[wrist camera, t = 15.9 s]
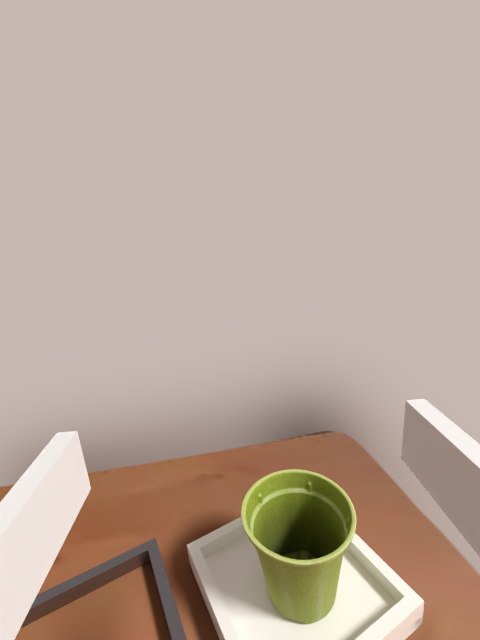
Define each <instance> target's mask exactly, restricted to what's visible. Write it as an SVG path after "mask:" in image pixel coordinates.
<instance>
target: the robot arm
mask: <svg viewBox="0 0 480 640" xmlns="http://www.w3.org/2000/svg"><path fill="white" fill-rule="evenodd" d="M401 458H402V460H403V461H404V462H405V463H406V465H407V466H408V467H409V468H410V470H411V471H412V472H413V473H414V475H415V476H416V477H417V478H418V480H419V481H420V482H421V483H422V485H423V486H424V487H425V488H426V490H427V491H428V492H429V493H430V495H431V496H432V497H433V499H434V500H435V501H436V502H437V504H438V505H439V506H440V507H441V509H442V510H443V511H444V512H445V514H446V515H447V516H448V517H449V519H450V520H451V521H452V522H453V524H454V525H455V526H456V527H457V529H458V530H459V531H460V533H461V534H462V535H463V536H464V538H465V539H466V540H467V541H468V543H469V544H470V545H471V546H472V548H473V549H474V550H475V552H476V553H477V554H478V555H479V556H480V445H479V444H478V443H477V442H476V441H475V440H474V439H472V438H471V437H470V436H469V435H467V434H466V433H465V432H464V431H463V430H461V429H460V428H459V427H458V426H457V425H455V424H454V423H453V422H452V421H450V420H449V419H448V418H447V417H446V416H445V415H443V414H442V413H441V412H440V411H438V410H437V409H436V408H435V407H434V406H432V405H431V404H430V403H429V402H428V401H426V400H425V399H417V400H407V401H406V406H405V418H404V430H403V443H402V456H401ZM90 489H91V487H90V483H89V478H88V474H87V470H86V466H85V462H84V457H83V454H82V449H81V445H80V441H79V436H78V432H77V431H71V432H60V433H57V434H56V435H55V436H54V437H53V439H52V440H51V441H50V442H49V444H48V445H47V446H46V447H45V448H44V450H43V451H42V452H41V453H40V455H39V456H38V457H37V458H36V460H35V461H34V462H33V463H32V464H31V466H30V467H29V468H28V469H27V470H26V472H25V473H24V474H23V475H22V477H21V478H20V479H19V480H18V482H17V483H16V484H15V485H14V486H13V488H12V489H11V490H10V491H9V493H8V494H7V495H6V496H5V497H4V499H3V500H2V501H1V502H0V640H14V639H15V637H16V635H17V633H18V631H19V629H20V628H21V626H22V624H23V622H24V620H25V618H26V616H27V614H28V612H29V610H30V608H31V606H32V604H33V602H34V600H35V598H36V596H37V594H38V592H39V590H40V588H41V586H42V584H43V582H44V580H45V578H46V576H47V574H48V572H49V570H50V568H51V566H52V564H53V562H54V560H55V558H56V557H57V555H58V553H59V551H60V549H61V547H62V545H63V543H64V541H65V539H66V537H67V535H68V533H69V531H70V529H71V527H72V525H73V523H74V521H75V519H76V517H77V515H78V513H79V511H80V509H81V507H82V505H83V503H84V501H85V499H86V497H87V495H88V493H89V491H90Z"/></svg>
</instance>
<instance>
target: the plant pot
mask: <svg viewBox="0 0 480 640" xmlns="http://www.w3.org/2000/svg"><path fill="white" fill-rule="evenodd" d="M241 519H242V524H243V528H244V531H245V533H246V535H247V537H248V538H249V540H250V541H251V542H252V544H253V545H254V547H255V549H256V550H257V553H258V556H259V560H260V563H261V567H262V571H263V574H264V578H265V582H266V586H267V590H268V593H269V597H270V599H271V601H272V603H273V605H274V606H275V608H276V609H277V610H278V611H279V612H280V613H281V614H282V615H283V616H284V617H286V618H288V619H293V620H297V621H300V622H303V623H305V624H310V623H314V622H317V621H319V620H321V619H323V618H324V617H325V616H327V615H328V613H329V612H330V611H331V609H332V607H333V605H334V602H335V598H336V593H337V587H338V581H339V575H340V570H341V564H342V559H343V554H344V552H345V550H346V549H347V548H348V546H349V545H350V543H351V541H352V539H353V537H354V534H355V529H356V513H355V509H354V507H353V504H352V502H351V500H350V498H349V497H348V495H347V494H346V493H345V492H344V490H343V489H342V488H341V487H339V486H338V485H337V484H336V483H335V482H333V481H332V480H330V479H328V478H326V477H324V476H323V475H320V474H318V473H314V472H310V471H306V470H296V469H293V470H283V471H278V472H274V473H272V474H269V475H267V476H265V477H263V478H261V479H260V480H259V481H257V482H256V483H255V484H254V485H253V486H252V487H251V488H250V489H249V491H248V492H247V494H246V496H245V498H244V500H243V503H242V508H241Z"/></svg>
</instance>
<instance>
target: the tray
mask: <svg viewBox="0 0 480 640" xmlns="http://www.w3.org/2000/svg"><path fill="white" fill-rule="evenodd" d="M187 550H188V556H189V562H190V566H191V568H192V571H193V573H194V576H195V579H196V581H197V584H198V586H199V589H200V591H201V594H202V597H203V599H204V602H205V604H206V607H207V609H208V612H209V614H210V617H211V620H212V622H213V625H214V627H215V630H216V632H217V635H218V637H219V640H405V639H406V638H407V637H408V636H409V635H411V634H412V633H413V632H414V631H415V630H416V629H417V628H418V627H419V626H420V625H421V624H422V619H423V608H424V601H423V600H422V599H421V598H420V597H419V596H418V595H417V594H416V593H415V592H414V591H413V590H412V589H411V588H410V587H409V586H408V585H407V584H406V583H405V582H404V581H403V580H402V579H401V578H400V577H399V576H398V575H397V574H396V573H395V572H394V571H393V570H392V569H391V568H390V567H389V566H388V565H387V564H386V563H385V562H384V561H383V560H382V559H381V558H380V557H379V556H378V555H377V554H376V553H375V552H374V551H373V550H372V549H371V548H370V547H369V546H368V545H367V544H366V543H365V542H364V541H363V540H362V539H361V538H360V537H358V536H357V535H356V534H354V537H353V539H352V541H351V543H350V545H349V546H348V548H347V549H346V550H345V552H344V554H343V559H342V564H341V570H340V575H339V581H338V587H337V593H336V598H335V602H334V605H333V607H332V609H331V611H330V612H329V613H328V615H327V616H325V617H324V618H323V619H321V620H319V621H317V622H314V623H310V624H305V623H303V622H300V621H297V620H293V619H288V618H286V617H284V616H283V615H282V614H281V613H280V612H279V611H278V610H277V609H276V608H275V606H274V605H273V603H272V601H271V599H270V597H269V593H268V590H267V586H266V582H265V578H264V574H263V571H262V567H261V563H260V560H259V556H258V553H257V550H256V549H255V547H254V545H253V544H252V542H251V541H250V540H249V538H248V537H247V535H246V533H245V531H244V528H243V524H242V519H241V517H240V518H238V519H236V520H234V521H232V522H230V523H228V524H226V525H224V526H222V527H220V528H218V529H216V530H215V531H213V532H211V533H209V534H207V535H205V536H203V537H201V538H199V539H197V540H195V541H193V542H191V543H190V544H188V545H187Z"/></svg>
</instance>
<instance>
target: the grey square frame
mask: <svg viewBox="0 0 480 640" xmlns="http://www.w3.org/2000/svg"><path fill="white" fill-rule="evenodd" d="M149 561H150V562H151V566H152V570H153V573H154V577H155V581H156V585H157V588H158V592H159V596H160V600H161V603H162V607H163V611H164V615H165V618H166V622H167V626H168V630H169V633H170V637H171V640H186V636H185V633H184V630H183V627H182V623H181V620H180V617H179V614H178V610H177V607H176V604H175V601H174V597H173V594H172V591H171V587H170V584H169V581H168V578H167V574H166V571H165V568H164V565H163V561H162V558H161V555H160V552H159V548H158V545H157V542H156V539H155V538H154V539H152V540H150V541H148V542H146V543H144V544H141V545H139V546H137V547H135V548H133V549H131V550H129V551H127V552H125V553H123V554H121V555H119V556H117V557H115V558H113V559H111V560H109V561H107V562H105V563H103V564H100V565H98V566H96V567H94V568H92V569H90V570H88V571H86V572H84V573H82V574H80V575H78V576H76V577H74V578H72V579H70V580H68V581H66V582H64V583H62V584H60V585H57V586H55V587H53V588H51V589H49V590H47V591H45V592H43V593H41V594H39V595H37V596H36V598H35V600H34V602H33V604H32V606H31V608H30V610H29V612H28V614H27V616H26V618H25V620H24V622H23V624H22V626H21V628H22V627H24V626H25V625H27V624H29V623H31V622H33V621H35V620H37V619H39V618H41V617H43V616H45V615H47V614H49V613H51V612H53V611H55V610H56V609H58V608H60V607H62V606H64V605H66V604H68V603H70V602H72V601H74V600H76V599H78V598H80V597H82V596H84V595H86V594H87V593H89V592H91V591H93V590H95V589H97V588H99V587H101V586H103V585H105V584H107V583H109V582H111V581H113V580H115V579H116V578H118V577H120V576H122V575H124V574H126V573H128V572H130V571H132V570H134V569H136V568H138V567H140V566H142V565H144V564H146V563H147V562H149Z"/></svg>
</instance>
